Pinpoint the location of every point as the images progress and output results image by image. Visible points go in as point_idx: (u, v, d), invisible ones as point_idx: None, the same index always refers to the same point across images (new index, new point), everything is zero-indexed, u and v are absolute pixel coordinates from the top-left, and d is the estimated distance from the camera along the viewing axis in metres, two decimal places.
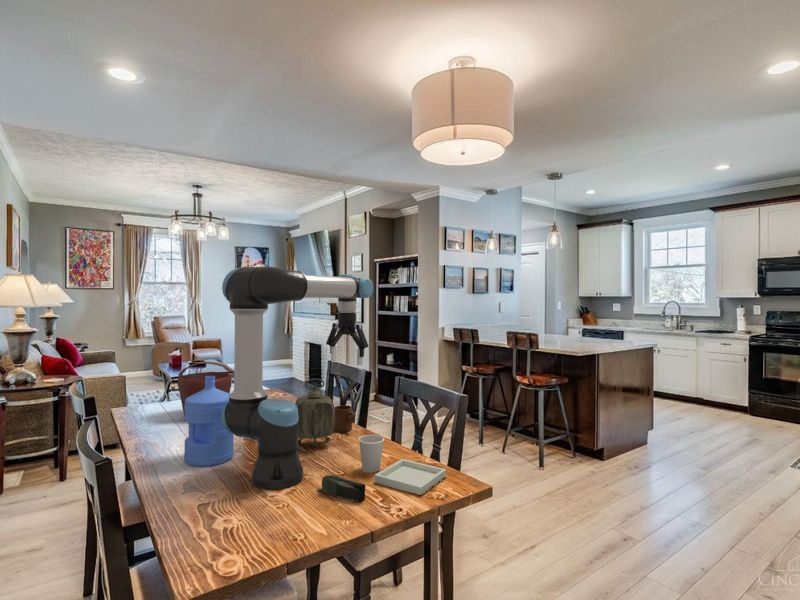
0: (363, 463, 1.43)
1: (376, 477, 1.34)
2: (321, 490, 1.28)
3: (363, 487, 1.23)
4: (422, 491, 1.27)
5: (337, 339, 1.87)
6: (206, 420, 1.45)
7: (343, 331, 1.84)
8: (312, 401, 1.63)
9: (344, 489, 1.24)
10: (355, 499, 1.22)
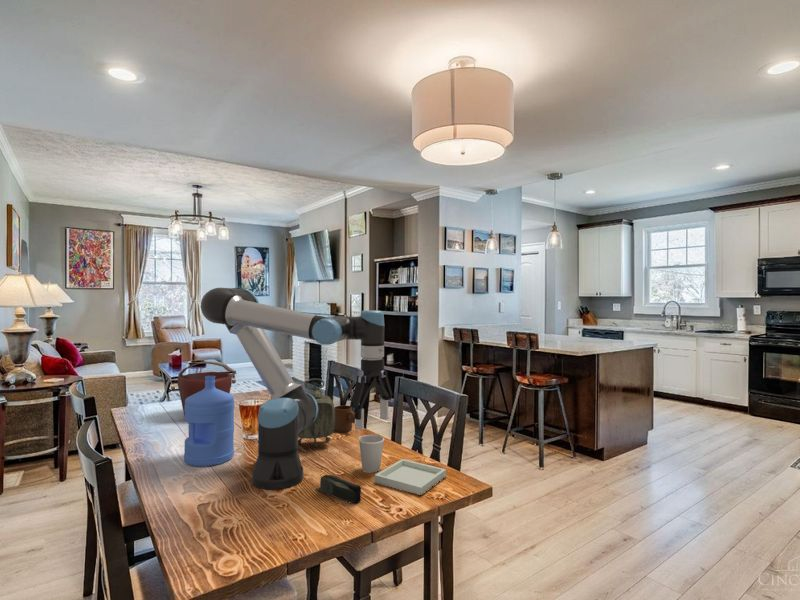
0: (363, 463, 1.43)
1: (376, 477, 1.34)
2: (319, 490, 1.28)
3: (358, 489, 1.22)
4: (422, 491, 1.27)
5: (380, 391, 1.49)
6: (206, 420, 1.45)
7: None
8: None
9: (340, 490, 1.23)
10: (350, 500, 1.21)
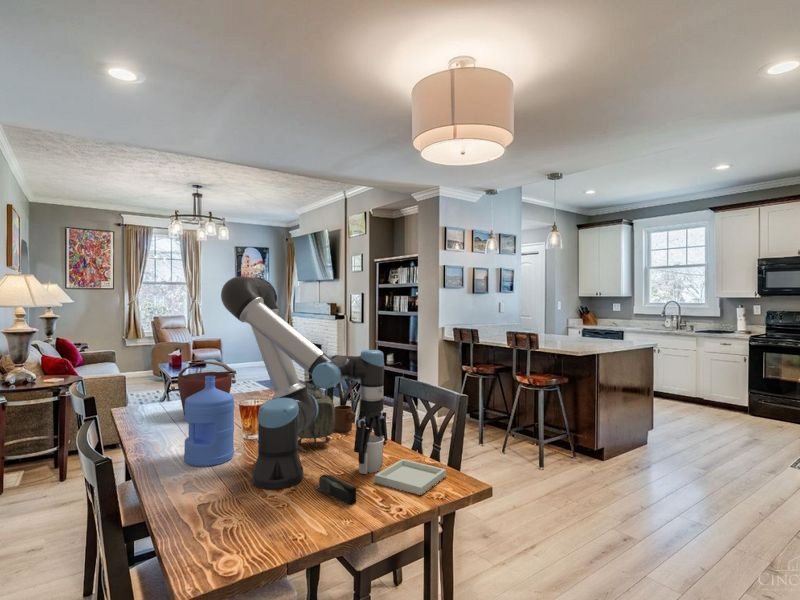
0: None
1: (376, 477, 1.34)
2: (318, 489, 1.29)
3: (353, 490, 1.21)
4: (422, 491, 1.27)
5: (376, 434, 1.48)
6: (206, 420, 1.45)
7: None
8: None
9: (336, 490, 1.23)
10: (345, 501, 1.21)
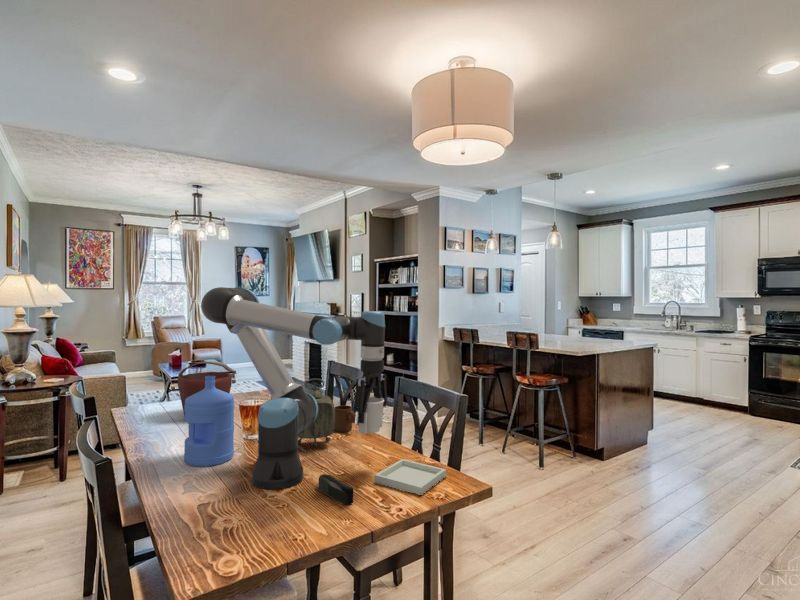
0: None
1: (376, 477, 1.34)
2: (318, 488, 1.29)
3: (350, 490, 1.20)
4: (422, 491, 1.27)
5: (376, 395, 1.48)
6: (206, 420, 1.45)
7: None
8: None
9: (333, 490, 1.23)
10: (342, 502, 1.21)
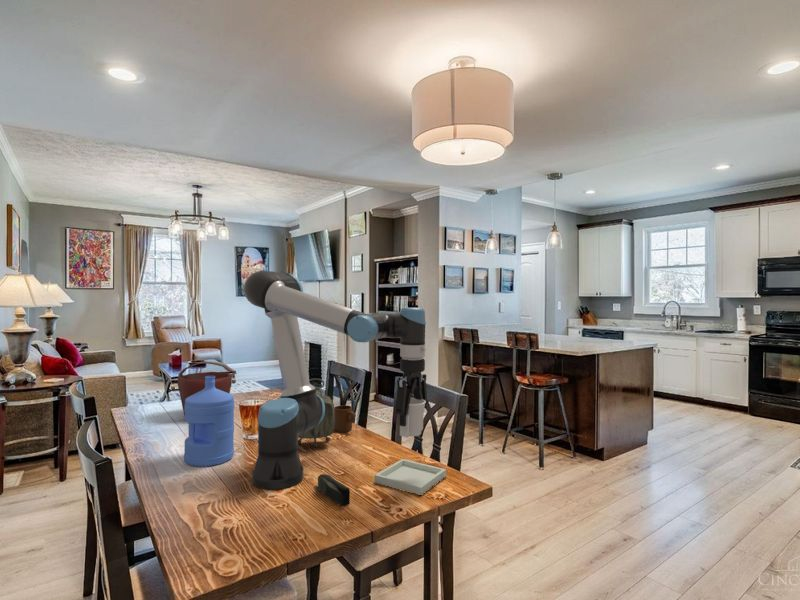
0: None
1: (376, 477, 1.34)
2: (317, 488, 1.29)
3: (346, 491, 1.20)
4: (422, 491, 1.27)
5: (417, 396, 1.40)
6: (206, 420, 1.45)
7: None
8: None
9: (331, 491, 1.23)
10: (338, 502, 1.20)
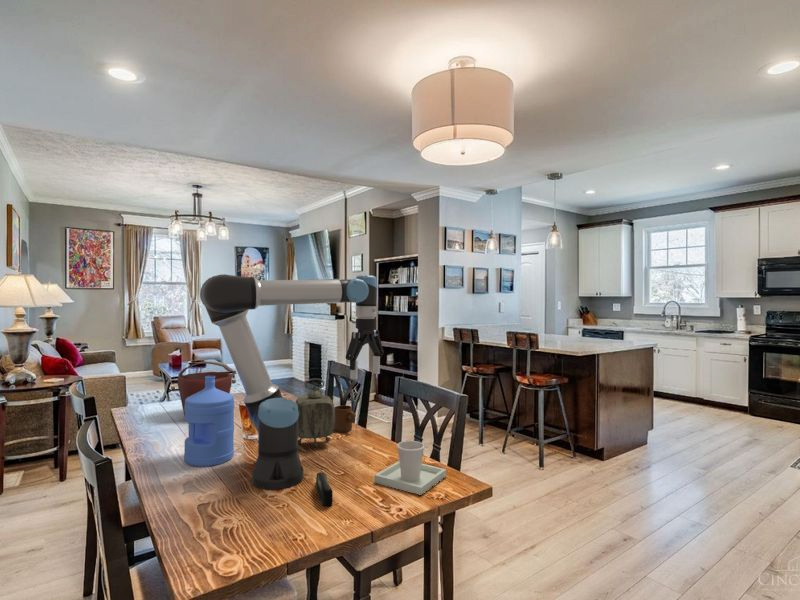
0: (402, 471, 1.35)
1: (376, 477, 1.34)
2: (316, 485, 1.31)
3: (328, 492, 1.19)
4: (422, 491, 1.27)
5: (373, 348, 1.68)
6: (206, 420, 1.45)
7: None
8: (312, 401, 1.63)
9: (319, 489, 1.23)
10: (321, 502, 1.20)
